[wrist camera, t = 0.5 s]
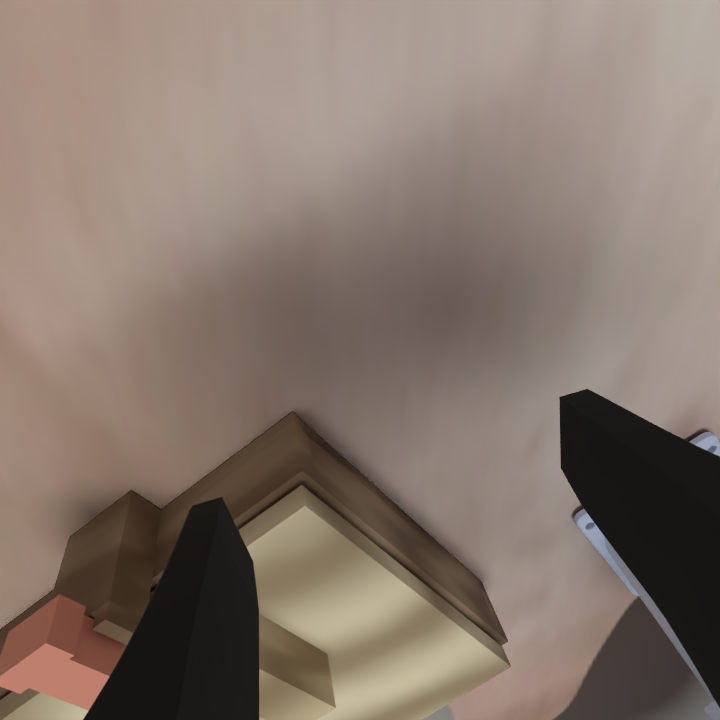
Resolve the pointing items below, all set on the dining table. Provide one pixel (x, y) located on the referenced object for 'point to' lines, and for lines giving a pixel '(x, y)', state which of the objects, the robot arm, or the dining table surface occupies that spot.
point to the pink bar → (59, 654)
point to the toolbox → (245, 502)
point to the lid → (337, 628)
